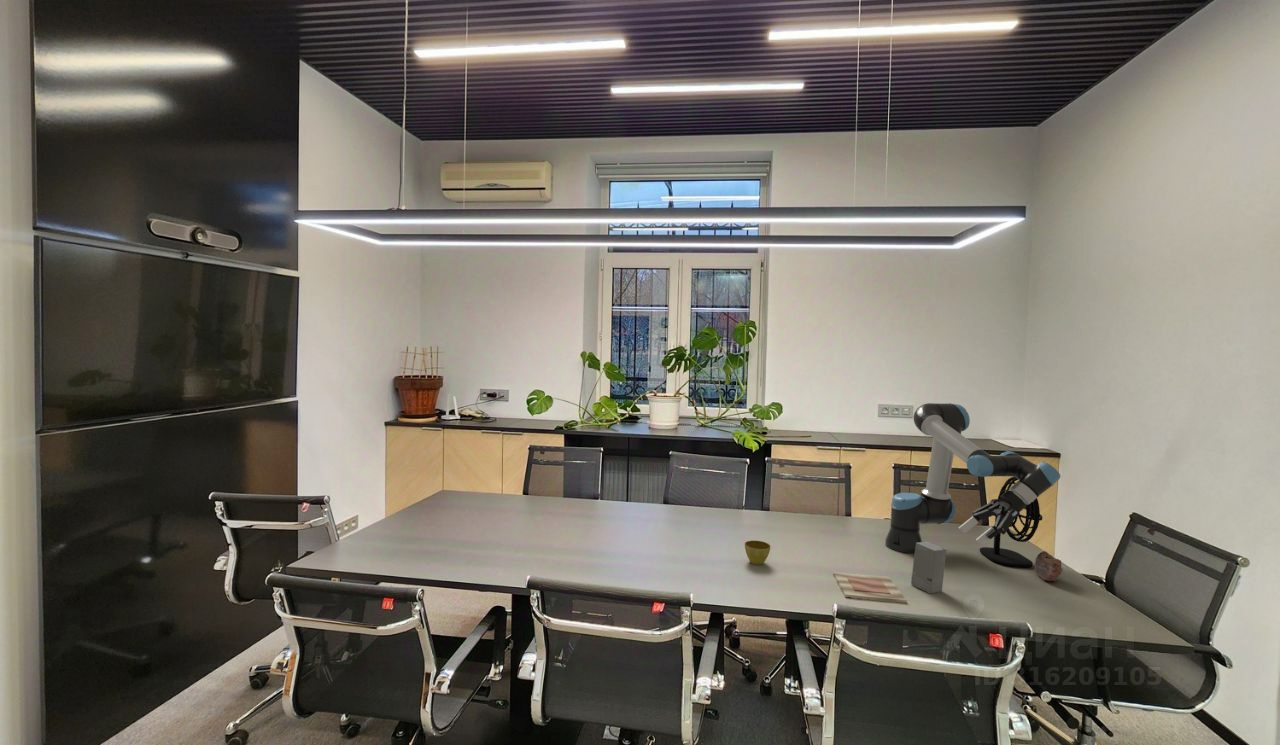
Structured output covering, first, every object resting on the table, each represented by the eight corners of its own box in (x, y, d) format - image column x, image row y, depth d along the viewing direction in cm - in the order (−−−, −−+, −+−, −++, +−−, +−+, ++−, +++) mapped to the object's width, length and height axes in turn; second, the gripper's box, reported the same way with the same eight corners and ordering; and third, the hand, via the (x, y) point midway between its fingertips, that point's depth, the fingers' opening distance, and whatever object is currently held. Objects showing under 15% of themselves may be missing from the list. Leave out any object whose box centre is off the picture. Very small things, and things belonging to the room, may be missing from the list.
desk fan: (1050, 573, 219) (1055, 486, 218) (1002, 570, 221) (1007, 483, 220) (1012, 550, 246) (1017, 471, 245) (970, 546, 248) (974, 469, 247)
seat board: (833, 574, 210) (833, 571, 210) (888, 579, 207) (888, 576, 207) (845, 597, 190) (845, 593, 190) (906, 603, 187) (906, 599, 187)
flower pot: (770, 568, 214) (771, 550, 214) (743, 565, 216) (744, 547, 216) (769, 559, 224) (770, 541, 224) (744, 556, 226) (744, 539, 226)
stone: (1031, 572, 220) (1033, 547, 220) (1056, 574, 218) (1057, 549, 218) (1046, 584, 208) (1048, 558, 208) (1072, 587, 206) (1074, 561, 206)
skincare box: (910, 585, 203) (912, 542, 202) (924, 582, 206) (926, 540, 205) (931, 594, 195) (933, 550, 195) (944, 591, 198) (947, 547, 198)
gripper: (1046, 515, 183) (995, 556, 185) (1006, 496, 207) (962, 533, 210) (1029, 498, 183) (979, 539, 186) (992, 482, 208) (947, 518, 210)
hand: (969, 536), depth 198 cm, fingers open, 13 cm apart
